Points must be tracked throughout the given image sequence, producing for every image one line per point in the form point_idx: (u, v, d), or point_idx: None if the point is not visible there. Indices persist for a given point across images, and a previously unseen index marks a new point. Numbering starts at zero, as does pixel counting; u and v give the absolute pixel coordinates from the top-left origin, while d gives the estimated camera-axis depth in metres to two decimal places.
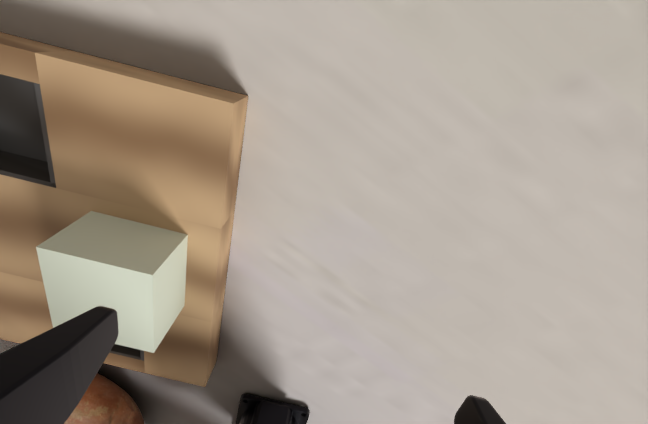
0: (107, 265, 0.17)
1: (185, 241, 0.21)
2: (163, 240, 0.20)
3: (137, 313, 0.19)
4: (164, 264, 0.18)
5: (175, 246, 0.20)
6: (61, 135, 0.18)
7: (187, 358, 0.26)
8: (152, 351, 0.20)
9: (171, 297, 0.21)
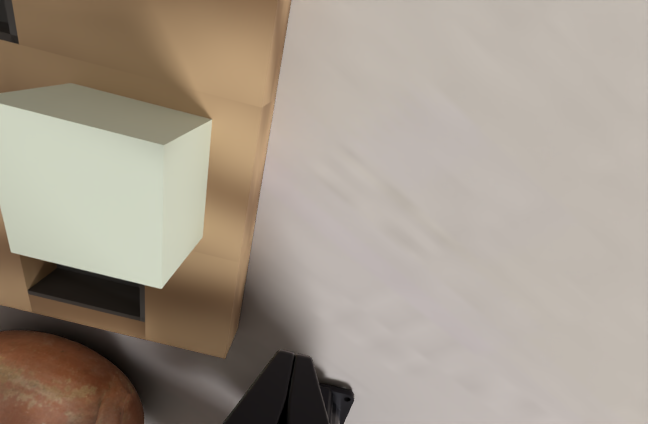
0: (90, 129, 0.11)
1: (208, 128, 0.14)
2: (178, 118, 0.13)
3: (137, 219, 0.12)
4: (180, 142, 0.12)
5: (195, 125, 0.13)
6: None
7: (202, 317, 0.19)
8: (159, 286, 0.13)
9: (187, 210, 0.14)
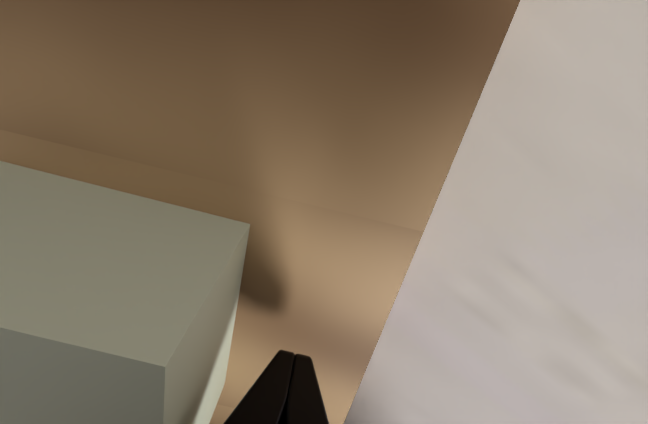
0: None
1: (244, 241, 0.08)
2: (191, 237, 0.07)
3: None
4: (200, 316, 0.06)
5: (225, 253, 0.07)
6: None
7: None
8: None
9: (206, 389, 0.08)
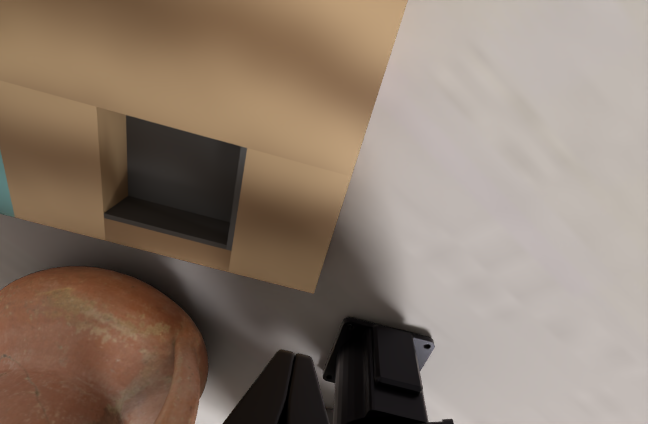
0: None
1: None
2: None
3: None
4: None
5: None
6: None
7: (297, 244, 0.18)
8: None
9: None
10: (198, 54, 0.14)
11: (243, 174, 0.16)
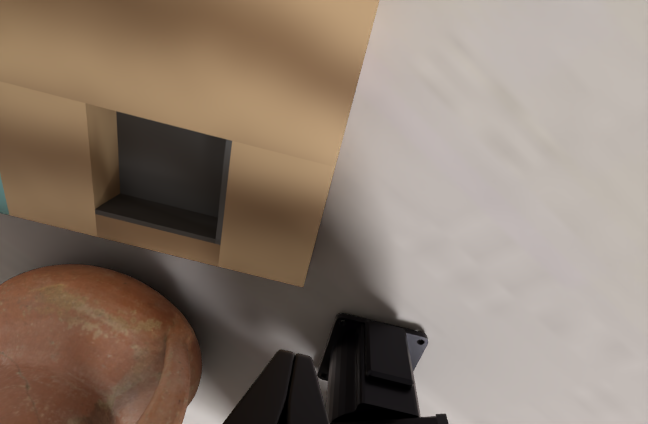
0: None
1: None
2: None
3: None
4: None
5: None
6: None
7: (285, 237, 0.18)
8: None
9: None
10: (182, 49, 0.14)
11: (229, 167, 0.17)
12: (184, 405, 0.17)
